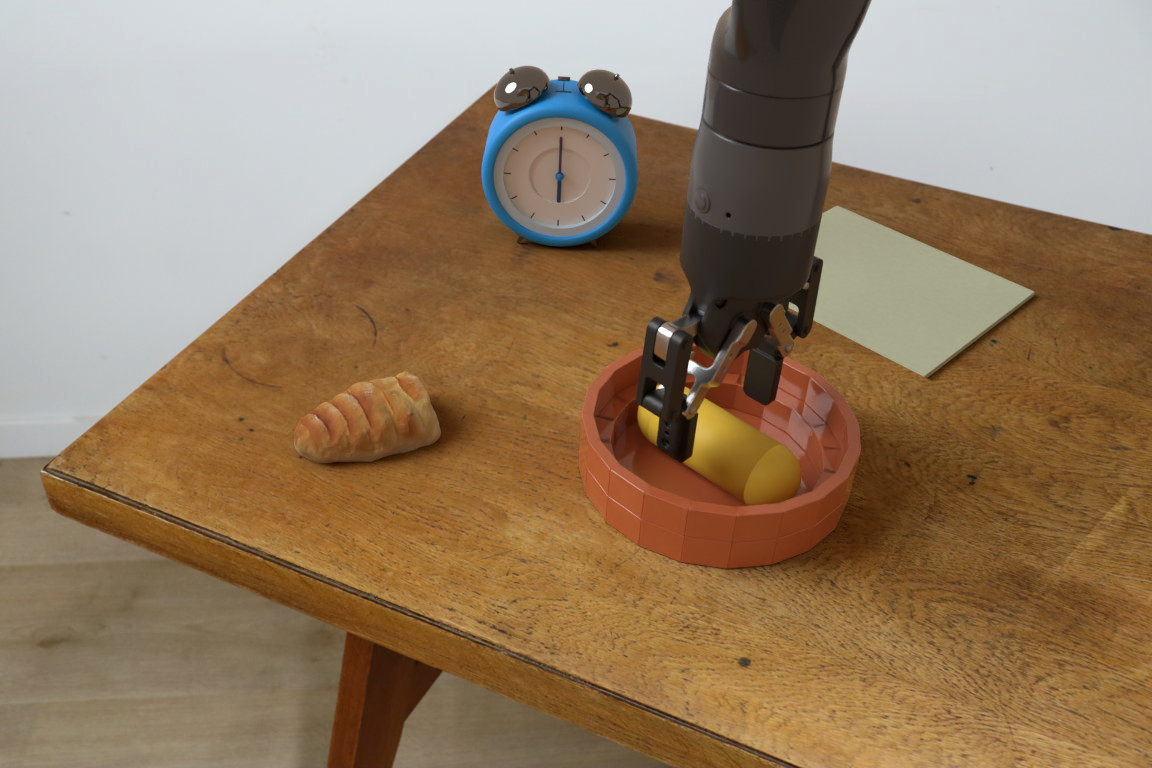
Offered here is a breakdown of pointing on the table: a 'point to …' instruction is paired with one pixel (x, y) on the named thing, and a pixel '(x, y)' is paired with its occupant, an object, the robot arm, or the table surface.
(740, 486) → the yellow capsule
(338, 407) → the pastry
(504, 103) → the alarm clock
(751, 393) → the robot arm
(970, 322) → the mat
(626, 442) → the bowl
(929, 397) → the table surface
